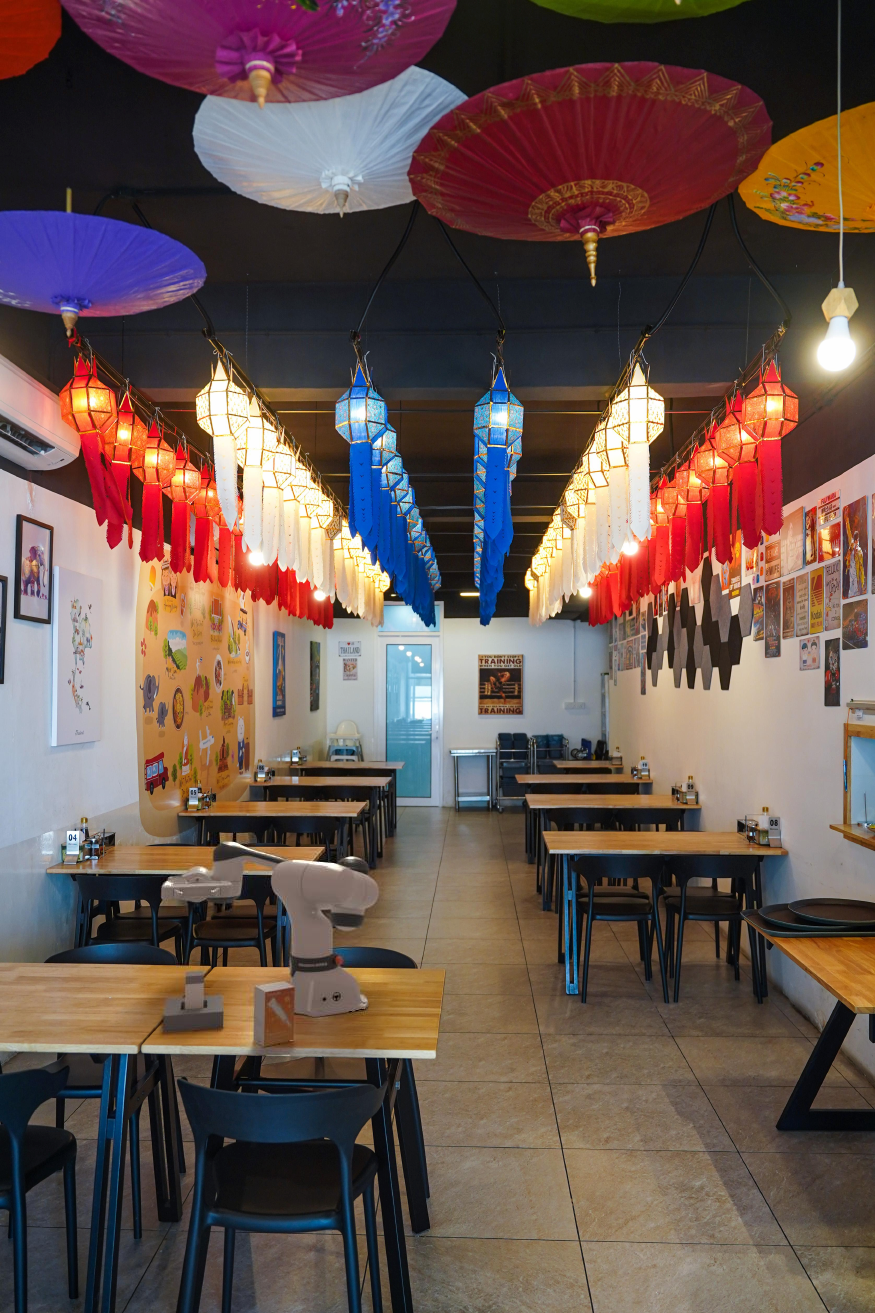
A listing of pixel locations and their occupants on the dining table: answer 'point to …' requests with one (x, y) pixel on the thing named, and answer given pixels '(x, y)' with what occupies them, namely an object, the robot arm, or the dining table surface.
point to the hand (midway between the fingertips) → (196, 895)
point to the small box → (273, 1013)
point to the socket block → (193, 1014)
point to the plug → (194, 990)
